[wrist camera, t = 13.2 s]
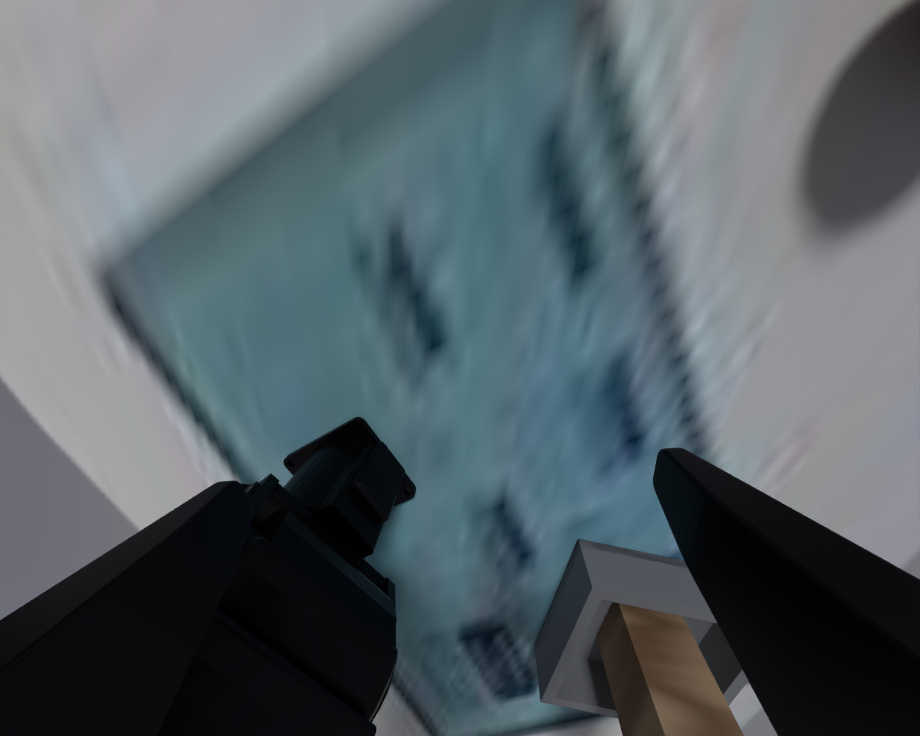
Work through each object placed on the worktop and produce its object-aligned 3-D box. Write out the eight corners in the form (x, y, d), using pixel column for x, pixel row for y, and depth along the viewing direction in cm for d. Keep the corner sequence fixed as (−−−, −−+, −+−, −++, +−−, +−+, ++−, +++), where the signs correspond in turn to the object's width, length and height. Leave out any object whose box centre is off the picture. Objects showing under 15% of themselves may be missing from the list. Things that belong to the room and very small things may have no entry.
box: (534, 647, 28) (540, 701, 24) (578, 539, 24) (592, 587, 20) (678, 677, 28) (704, 736, 24) (748, 573, 23) (789, 628, 20)
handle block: (596, 635, 26) (677, 940, 15) (615, 595, 24) (723, 901, 13) (655, 647, 26) (782, 963, 15) (678, 607, 24) (840, 926, 13)
